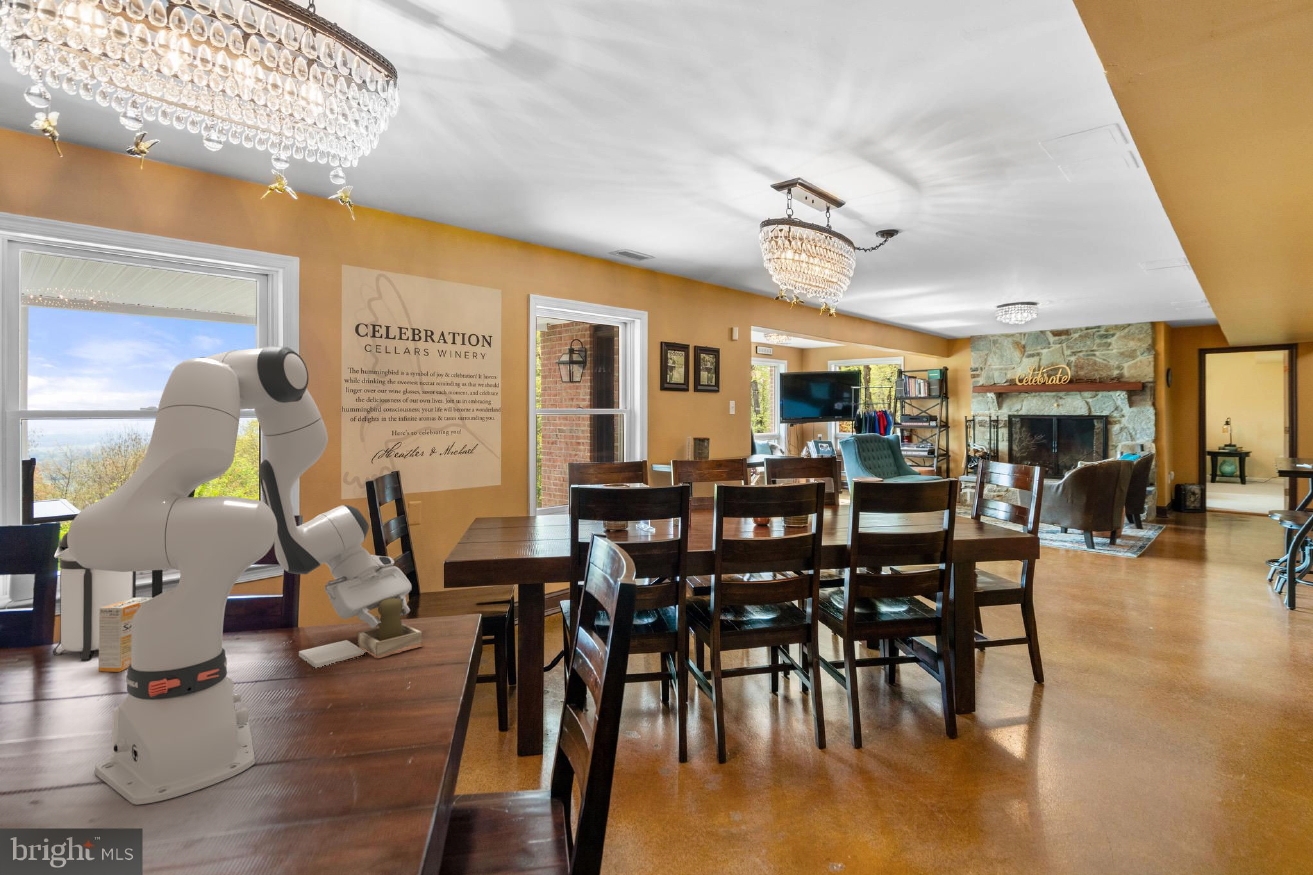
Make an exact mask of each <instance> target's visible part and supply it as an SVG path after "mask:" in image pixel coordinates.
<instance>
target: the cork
mask: <svg viewBox="0 0 1313 875" xmlns="http://www.w3.org/2000/svg"><path fill="white" fill-rule="evenodd" d="M402 608H403V604H402V601H401V600H400V599H396V598H391V599H385V600H383V601H381V602H380V603H379V606H378V607H377V611H378V614H379V615H380V617H379V620H381V623H380V624H379V626H378V628H379V630H378V637H377V640H378V641H383V640H387V639H391V638H395V637H399V636H403V632H402V624H401V622H402V618H401V615H400V613H401V611H402Z"/></svg>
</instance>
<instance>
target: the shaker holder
mask: <svg viewBox="0 0 1313 875" xmlns="http://www.w3.org/2000/svg"><path fill="white" fill-rule="evenodd" d="M401 624H402V632H403V636H399V637H395V638H391V639H387V640H383V641H378V640H377V637H378V630H379V627H375V628H371V629H365V630H363V631H358V632H357V634H358V635H357V646H358V645H359V646H360V647H362V648H364V649H366V650H367V651H369V652H370V653H373V654H375V655H376V656H380V655H383V654H386V653H390V652H392V651H396V650H398V649H402V648H404V647H408V646H410V645H414V644H418V643H420V642H422V643H423V631H421V630H420V629H416V628H415V627H412V626H410V625H408V624H406V623H404V622H402V621H401Z"/></svg>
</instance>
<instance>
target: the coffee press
mask: <svg viewBox="0 0 1313 875" xmlns="http://www.w3.org/2000/svg"><path fill="white" fill-rule="evenodd" d="M67 536H68V531H67V532H66V533H65V534H63V536H62V538H61V540H59V541H58V546H57V548H56V551H55V553H54V555H53V557H54V558H55V559H57V558H59V568H60V574H59V575H60V579H59V580H60V584H59V586H60V590H59V593H60V594H59V603H60V604H59V605H60V606H59V624H60V625H59V643H57V646H55V648H54V649H53V650H52V654H53V655H54V656H59V655H61V654H63V653H64V652H65V651H70V652H81V655H80V661H81V662H83V661H91V660H92V657H93V654H94V652H95V651H96V650H97V651H99V614H100V607H105V606H108V605H112V604H115V603H118V602H122V601H125V600H129V599H132V598H137V597H136V596H137V594H136V592H137V588H136V587H137V585H136V584H137V571H132V572H118V571H107V570H98V569H90V568H85V567H83V566H81V565H80V564H79V563H78V562H77V561H76V560H75V559H74V558H73V556H72V555H71V553H70V551H69V548H68V544H67ZM163 571H164V570H151V598H154V597H155V596H157V595H159V594H161V593H163V588H164V587H163V582H164V581H163V574H164V572H163ZM60 645H61V647H62V648H63V649H64V650H62V651H61V652H58V651H57V649H58V647H60Z"/></svg>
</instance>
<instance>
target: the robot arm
mask: <svg viewBox="0 0 1313 875" xmlns="http://www.w3.org/2000/svg"><path fill="white" fill-rule="evenodd" d="M308 386H309V371H308V367H307V365H306V363H305V361H304V359H303V358H302V357H301V355H300V354H298V353H297V352H296V351H294V350H293V349H292V348H290V347H288V346H280V345H271V346H269V345H268V346H265V347H260V348H259V347H258V348H249V349H239V350H238V349H237V350H235V349H234V350H228V351H225V352H220V353H216V354H211V355H209V356H206V357H205V356H200V357H196V358H195V357H194V358H190V359H186V360H183V361H181V362H179V364H177V365H176V366H175V367H174V369H173V370H172V372H171V374H170V376H169V378H168V380H167V382H166V384H165V386H164V389H163V390H162V391H163V392H162V394H161V397H160V399H159V400H160V401H159V404H158V407H157V411H156V417H155V422H154V424H153V425H154V426H153V430H152V432H151V436H150V441H149V444H148V447H147V450H146V454H145V456H144V458H143V460H142V461H141V463H140V464H139V466H138V467H137V469H136V470H135V471H134V473H133V474H131V476H130V477H129V478H128V479H127V480H126V481H125V482H124V483H123V484H122V485H120V486H118V488H117V489H116V490H114V491H112V492H111V493H110V494H108V495H106V496H105V497H104V498H102V499H99V500H98V501H96V502H93V503H91V504H90V505H87V506H85V507H84V508H83V509H82V510H81V511H79V513H78V514H76V516H75V517H74V519H73V521H71V523H70V525H69V528H68V531H67V532H68V536H67V544H68V548H69V551H70V553H71V555H72V556H73V558H74V559H75V560H76V561H77V562H78V563H79V564H80V565H81V566H83V567H85V568H90V569H98V570H107V571H118V572H132V571H136V572H145V571H147V572H148V571H152V570H163V571H164V570H165V571H166V570H178V571H179V572H180V574H179V582H178V583H177V586H175V587H172V588H170V589H169V590H166V591H162V593H161V594H159V595H157V596H155V597H154V598H152V597H151V598H152V599H150V600H148V601H147V602H145V603H144V604H143V605H142V606H141V607H139V609H138V610H137V611H136V613H135V614H134V616H133V619H132V622H131V664H130V665H129V666H128V668H127V672H126V673H127V674H126V676H125V677H126V678H125V682H126V691H127V692H126V693H128V694H127V695H126V697H125V698H124V699H123V700H122V702H120V704H119V705H117V706H116V708H114V710H113V714H112V730H111V748H110V749H111V751H110V756H107V757H106V758H104V759H102V760H101V761H100V762H97V764H96V765H95V768H94V774H95V775H96V776H97V777H98V778H99V779H101V780H102V781H103V782H105V783H106V784H107V785H108V786H110V787H111V788H112V789H113V790H115V791H116V792H117V793H118V794H120V795H121V796H122V797H124V799H125V800H127V801H129V802H130V803H131V804H133V805H145V804H150V803H157V802H162V801H165V800H169V799H172V798H177V797H180V796H183V795H186V794H189V793H192V792H196V791H198V790H201V789H205V788H207V787H210V786H213V785H216V784H217V783H220V782H223V781H225V780H227V779H230V778H232V777H234V776H236V775H239V774H240V773H242V772H244V771H246V770H248V769H249V768H251V767H252V766H253V765H255V763H256V760H255V759H256V758H255V751H254V746H253V740H252V739H253V737H252V733H251V732H252V731H251V726H250V725H251V724H250V722H249V707H247V706H245V707H240V708H237V709H236V708H235V703H236V704H237V703H239V702H240V703H241V700H242V694H241V692H236V693H234V679H232V678H231V677H228V671H227V665H228V661H227V660H228V658H227V656H226V650H225V648H223V634H224V633H223V631H224V618H225V610H226V605H227V600H228V598H229V595H230V593H231V591H232V589H233V587H234V585H235V584H236V582H237V581H238V579H239V578H240V577H241V576H242V575H243V574H244V573H245V571H247V570H248V569H249V568H250V567H252V566H253V564H255V563H256V562H258V561H260V560H261V559H262V558H263V557H264V556H266V555H267V553H269V551H270V550H271V549H272V547H274V554H275V558H276V560H277V562H278V564H279V565H280V567H282V569H283V570H284V571H285V572H286V573H289V574H294V575H308V574H310V573H311V572H312V571H314V570H315V569H317V568H318V567H320V566H321V565H322V564H325V565H327V566H328V568H329V570H330V573H331V575H332V577H333V578H334V579H333V580H328V581H327V582H326V584H325V586H324V591H325V593H326V594H327V595H328V599H329V600H330V603H331V605H332V607H333V609H334V610H335V612H336V614H337V616H339V617H340V618H341V619H343V620H347V619H348V620H349V619H350V618H353V617H355V616H356V617H357V618H358V619H359V620H361V621H363V622H365V623H366V624H368V626H369V627H370V628H371V629H374V628H378V627H379V624H380V623H381V620H380V617H379V616H378V615H376V616H374V615H373V614H371V613H369V612H370V611H371V610H374V609H378V606H379V603H380V602H381V601H383V600H385V599H391V598H396V599H400V600H401V601H402V604H403V608H402V611H401V613H400V617H401V616H402V617H403V616H406V615H407V614H409V613H410V612H411V609H410V608H409V606H408V605H407V597H406V596H407V595H408V594H409V593H410V592H411V591H412V587H413V586H412V583H411V582H410V580H409V579H408V578H407V576H406V574H404V572H403V571H402V570H401V569H400V568H399V567H398V566H395V565H394V564H395V560H394V559H393V558H392V557H390V556H382V555H375V554H371V553H369V551H368V550H367V549H366V548H364V547H363V546H362V543H363V542H364V541H365V540H366V538H367V534H369V533H368V532H369V529H370V524H369V523H368V521H367V519H366V518H365V517H364V515H363V514H362V513H361V511H360V510H359V509H358V508H356V507H354V506H351V505H348V504H342V505H339V506H337V507H334V508H332V509H330V510H328V511H326V512H323V513H320V514H318V515H317V516H315V517H313V518H312V519H309V520H308V521H306V522H304V523H302V524H300V525H297V522H296V518H295V514H294V513H295V512H294V510H293V505H292V500H291V491H292V488H293V486H294V485H295V483H296V482H297V481H298V480H299V479H300V478H301V477H302V475H303V474H304V473H305V472H306V471H307V470H308V469H310V468H311V467H312V466H313V465H315V464H316V462H318V461H319V459H320V458H321V457H322V455H323V454H324V452H325V451H326V449H327V445H328V442H329V434H328V431H327V428H326V425H325V422H324V419H323V417H322V415H321V412H320V409H319V408H318V406H317V404H316V402H315V400H314V398H313V396H312V395H311V393H310V392H309V390H308ZM253 409H254V413H255V416H256V419H257V422H258V425H259V427H260V429H261V431H262V434H263V436H264V439H265V442H266V443H265V444H266V452H265V457H264V460H263V461H261V463H260V464H259V466H258V469H259V470H258V472H259V473H258V474H259V480H260V486H261V491H262V495H263V500H264V501H262V500H259V499H251V498H247V497H246V498H245V497H238V496H232V495H231V496H194V497H193V496H190V497H189V495H190V494H191V493H192V492H194V490H196V489H197V488H199V487H201V485H203V484H206V483H209V482H211V481H214V480H215V479H218V478H220V477H221V476H222V475H224V474H225V473H226V472H227V471H228V470H229V469H230V468H231V466H232V464H233V463H234V459H235V454H236V448H237V447H236V445H237V439H238V432H239V425H240V418H241V410H242V411H243V410H253Z"/></svg>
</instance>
